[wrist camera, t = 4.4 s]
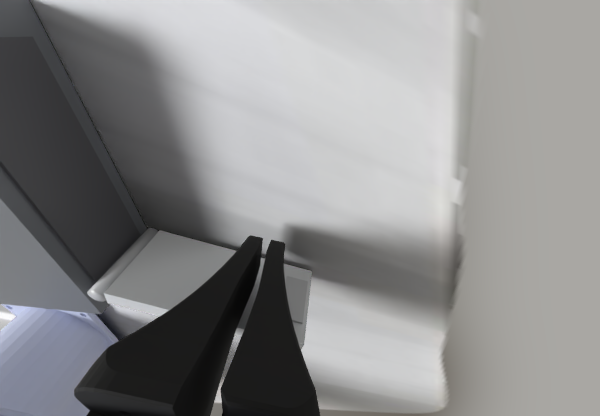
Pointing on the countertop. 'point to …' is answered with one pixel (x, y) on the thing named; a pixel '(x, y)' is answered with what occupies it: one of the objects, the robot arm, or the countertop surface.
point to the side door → (185, 278)
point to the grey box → (53, 179)
